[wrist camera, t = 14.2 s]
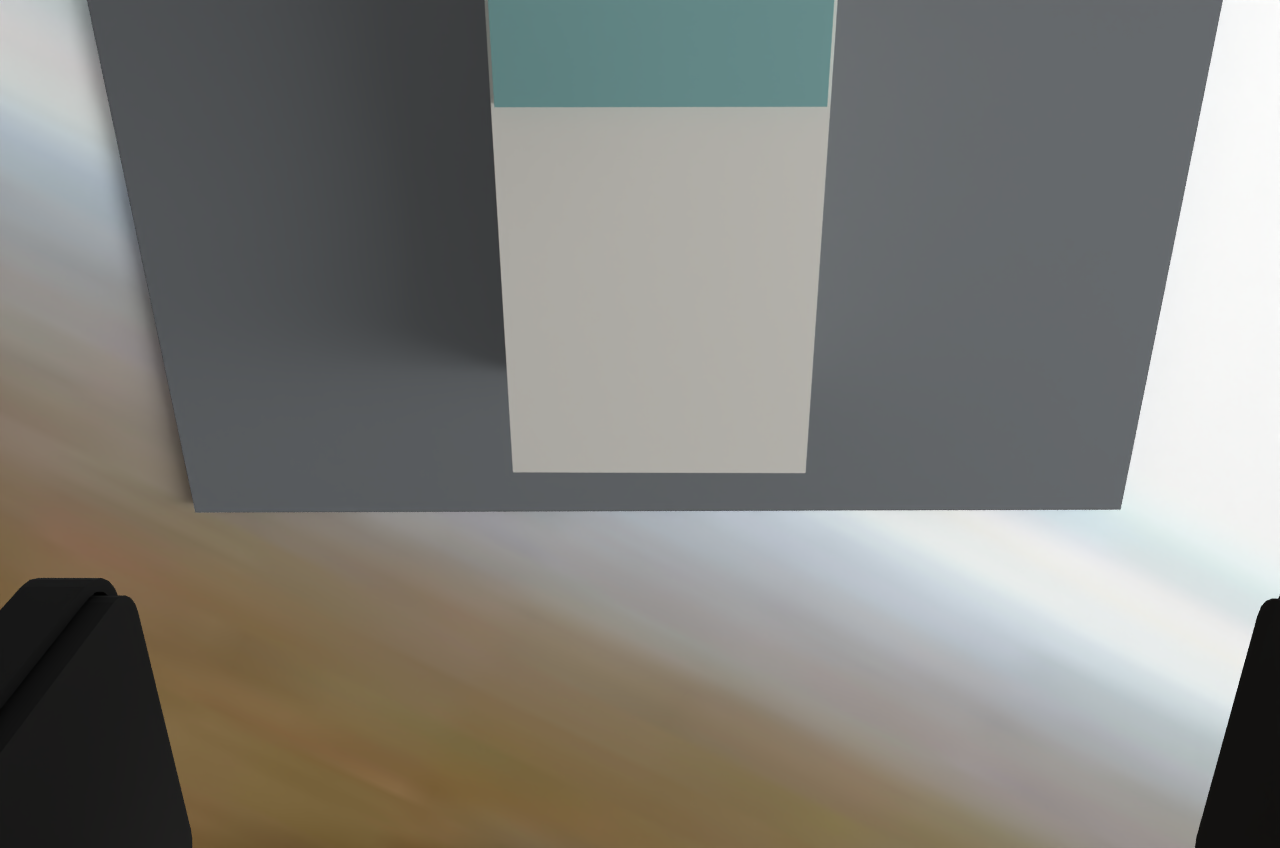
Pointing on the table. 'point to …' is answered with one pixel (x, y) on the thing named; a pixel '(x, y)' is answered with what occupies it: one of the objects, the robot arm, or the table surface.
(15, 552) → the table surface
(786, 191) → the card deck
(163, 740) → the robot arm
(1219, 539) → the table surface
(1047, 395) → the mat
